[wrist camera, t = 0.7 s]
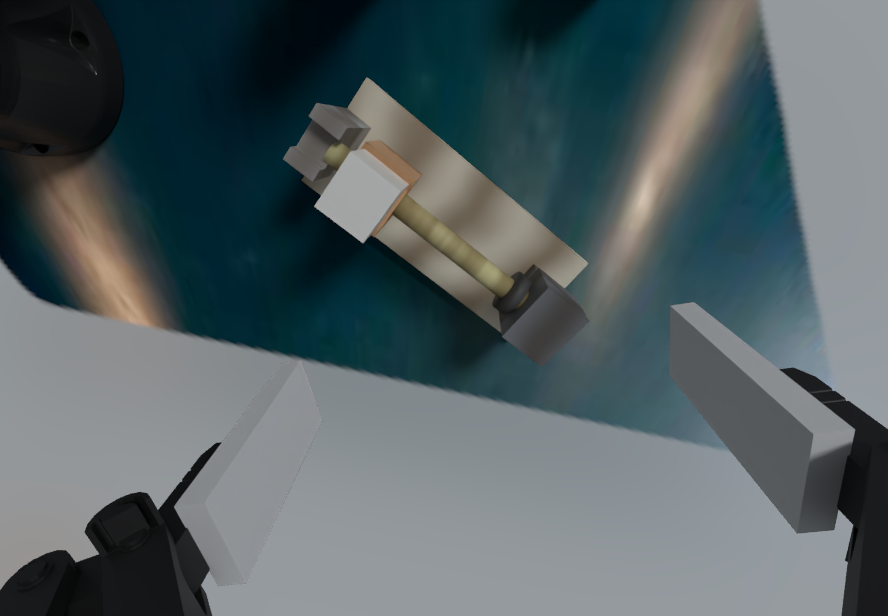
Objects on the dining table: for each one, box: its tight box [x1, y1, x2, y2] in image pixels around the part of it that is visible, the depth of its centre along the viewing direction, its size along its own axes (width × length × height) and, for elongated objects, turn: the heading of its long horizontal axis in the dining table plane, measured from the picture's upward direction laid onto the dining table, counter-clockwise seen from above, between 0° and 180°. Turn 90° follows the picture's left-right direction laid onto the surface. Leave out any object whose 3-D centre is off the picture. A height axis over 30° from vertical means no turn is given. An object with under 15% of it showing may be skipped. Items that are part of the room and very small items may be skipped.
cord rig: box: [283, 78, 589, 367], centre depth 35 cm, size 24×10×10 cm, turn 52°
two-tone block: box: [314, 140, 423, 243], centre depth 30 cm, size 4×5×8 cm
